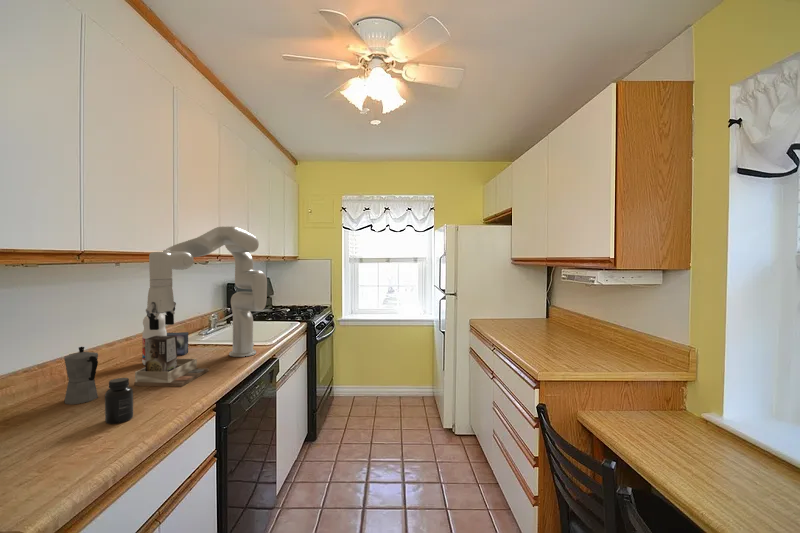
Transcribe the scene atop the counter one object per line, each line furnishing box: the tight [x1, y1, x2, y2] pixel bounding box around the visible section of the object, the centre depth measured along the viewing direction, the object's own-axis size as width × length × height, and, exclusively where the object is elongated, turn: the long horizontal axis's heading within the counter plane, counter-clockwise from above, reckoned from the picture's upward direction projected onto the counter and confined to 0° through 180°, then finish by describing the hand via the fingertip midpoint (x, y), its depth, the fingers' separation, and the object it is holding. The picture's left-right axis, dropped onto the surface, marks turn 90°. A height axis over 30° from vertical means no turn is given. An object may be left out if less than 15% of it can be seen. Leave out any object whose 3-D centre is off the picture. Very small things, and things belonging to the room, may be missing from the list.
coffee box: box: [144, 336, 178, 372], centre depth 150 cm, size 9×6×16 cm
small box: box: [167, 331, 189, 357], centre depth 192 cm, size 11×6×10 cm, turn 102°
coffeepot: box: [63, 346, 99, 405], centre depth 130 cm, size 15×9×18 cm, turn 65°
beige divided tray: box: [134, 358, 209, 387], centre depth 155 cm, size 20×18×5 cm
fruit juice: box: [141, 313, 168, 366], centre depth 175 cm, size 9×9×28 cm
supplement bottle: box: [104, 377, 134, 425], centre depth 115 cm, size 7×7×12 cm
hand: (162, 327), depth 150 cm, fingers open, 9 cm apart
